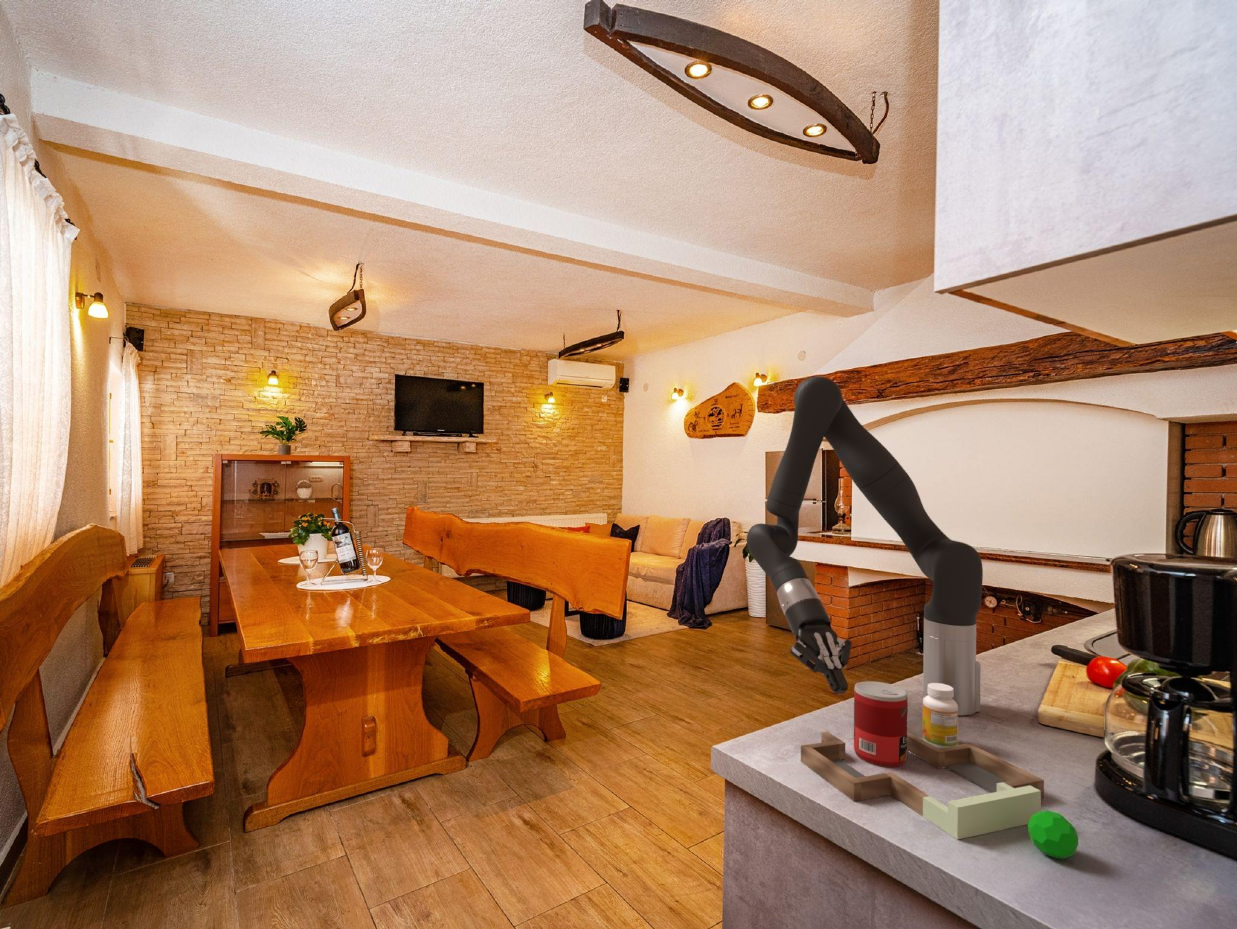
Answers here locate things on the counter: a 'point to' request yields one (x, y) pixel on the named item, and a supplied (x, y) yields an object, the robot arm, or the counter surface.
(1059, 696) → the counter surface
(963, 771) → the mats
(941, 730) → the supplement bottle
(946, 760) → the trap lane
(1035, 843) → the polyhedron
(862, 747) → the canned food
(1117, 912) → the counter surface
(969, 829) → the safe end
